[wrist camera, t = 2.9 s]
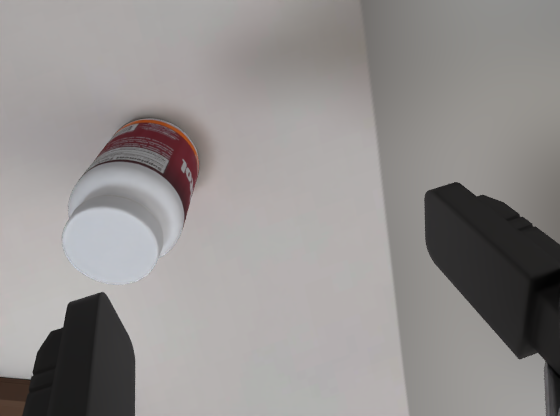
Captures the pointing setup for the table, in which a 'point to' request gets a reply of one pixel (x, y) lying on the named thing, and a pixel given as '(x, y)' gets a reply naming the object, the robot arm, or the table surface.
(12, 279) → the table surface
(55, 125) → the table surface
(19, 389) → the tray
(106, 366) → the robot arm
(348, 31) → the table surface
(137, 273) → the pill bottle
